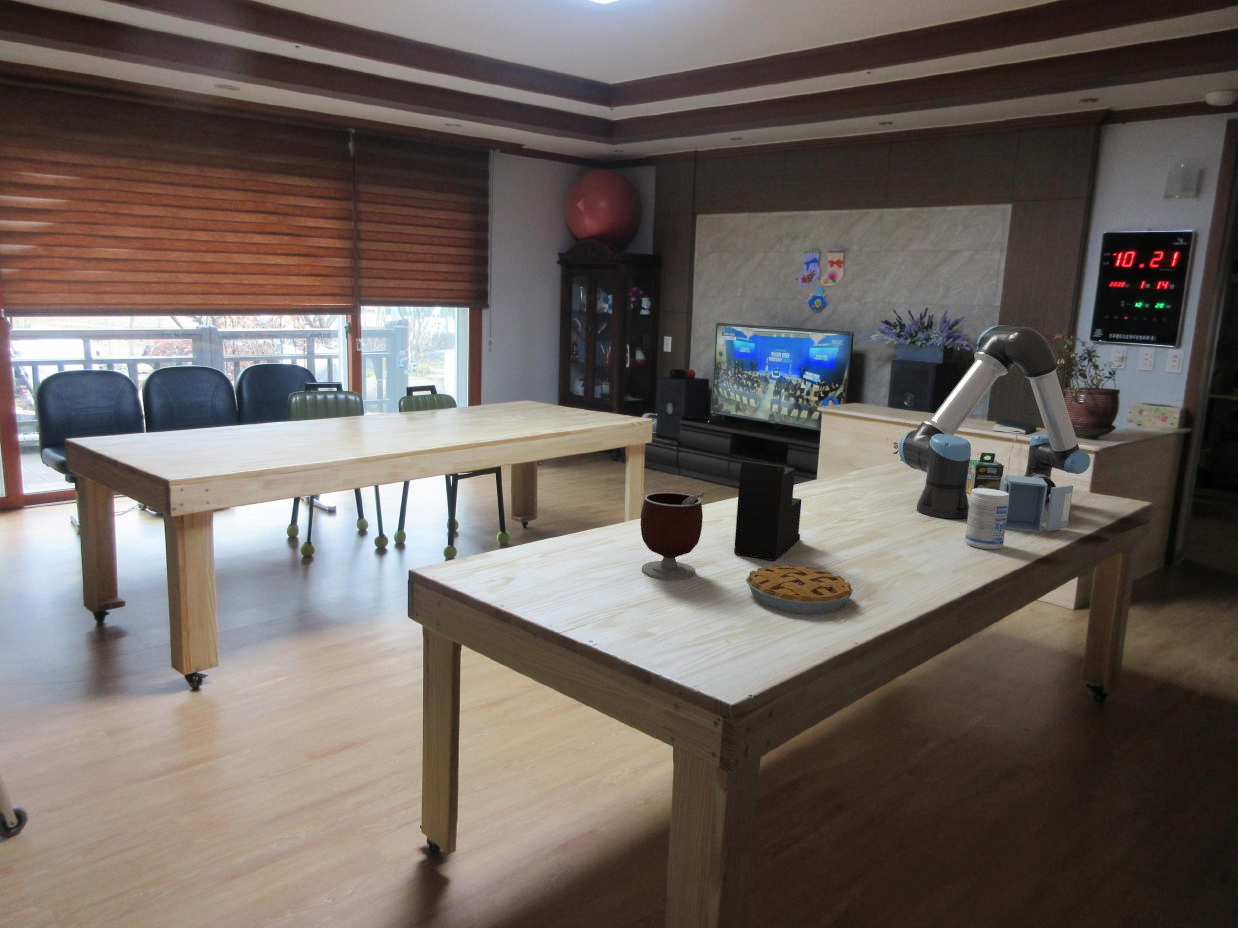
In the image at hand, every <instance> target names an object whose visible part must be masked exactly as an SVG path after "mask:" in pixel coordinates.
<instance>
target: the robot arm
mask: <svg viewBox="0 0 1238 928" xmlns="http://www.w3.org/2000/svg"><path fill="white" fill-rule="evenodd" d="M976 344H977V345H976V351H975V353H974V354H973V355H974V356H973V357H974V362H973V363H972V365H971V366H970V367H969V369H968V370H967V371H966V372H965V374H964V375H963V376H962V377H961V379H960V380H959V381H958V383H957V384H956V386H955V387H954V388H953V389H952V391H951V392H950V393H949V394H948V395H947V397H946V398H945V399H944V401H943V403H941V405H940V406H939V408H938V409H937V410H936V412H934V414H933V416H932V417H931V418H930V419H929V420H923V421H921V423H920V424H919V425H918V427H917V428H916V429H914V430H910V431H907V432H906V433H904V434H903V436H902V437H901V438H900V440H899V443H898V454H899V455H898V456H899V457H900V460H901V461H902V463H904V464H905V465H907V466H909V467H910V468H912V469H914V470H919V471H921V472H923V473H926V479H925V485H924V488H923V490H922V492H921V495H920V496H919V499H918V500H917V504H916V511H917V512H919V513H920V514H922V515H926V516H930V517H936V518H941V519H953V520H955V519H958V520H959V519H966V518H967V519H968V512H969V503H970V502H969V499H968V495H967V494H968V493H967V492H966V485H967V477H968V470H969V462H970V460H971V456H972V452H971V451H972V446H971V443H970V441H968V439H966V438H964V437H962V436H958V435H955V434H956V433H957V432H958V430H959V428H961V426H962V424H963V423H964V422H965V421H966V420H967V418H968V417H969V416H970V415H971V413H972V411H973V410H974V409H975V408H976V407H977V406H978V404H979V403H980V401H981V400H982V399H983V397H984V396H985V395H986V393H987V392H988V391H989V389H990V388H991V387H992V386H993V385H994V383H995V382H996V381H997V379H998V378H999V377H1002V376H1006V375H1007V374H1008V373H1009V371H1010V370H1012V368H1013V367H1014V366H1018V367H1019V368H1020V369H1021V371H1022V373H1023V376H1024V377H1025V378H1026V379H1028V380H1029V382H1030V383H1029V384H1030V386H1031V389H1032V391H1033V395H1034V399H1035V401H1036V405H1037V407H1038V410H1039V414H1040V417H1041V420H1042V423H1043V426H1044V429H1045V432H1046V434H1033V435H1032V436H1031V438H1030V442H1029V446H1028V447H1029V448H1028V456H1027V458H1028V459H1027V462H1026V463H1027V465H1026V469H1025V470H1026V471H1025V473H1024V475H1023V476H1024V477H1034V478H1043V480H1044V481H1045V482H1046V483H1047V485H1048V487H1047V494H1046V501H1045V506H1046V505H1048V506H1049V501H1050V494H1051V488H1053V487H1057V486H1056V483H1055V482H1054V481H1053V480H1052V479H1051V476H1052V469H1057V470H1060V471H1063V472H1066V473H1067V474H1073V475H1081V474H1083V473H1085V472H1086V471H1088V469H1089V467H1090V465H1091V456H1090V454H1088V453H1087V451H1085V450H1082V449H1080V446H1079V443H1078V440H1077V436H1076V433H1075V430H1074V426H1073V423H1072V419H1071V417H1070V414H1069V409H1068V406H1067V404H1066V400H1065V397H1064V394H1063V391H1062V388H1061V384H1060V382H1059V377H1058V374H1057V369H1058V367H1059V366H1058V362H1057V359H1056V356H1055V354H1054V351H1053V349H1052V347H1051V345H1050V344H1049V343H1048V341H1047V338H1045V337H1044V336H1043V334H1041V333H1040V332H1039V331H1038V330H1036V329H1034V328H1032V327H1028V326H1027V327H1026V326H1010V325H1005V324H1003V325H1002V324H1001V325H994V326H990V327H988V328H986V329H985V330H984V331H983V332H982V333H981V334H980V335H979V337H978V338H977V341H976Z"/></svg>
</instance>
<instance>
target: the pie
mask: <svg viewBox="0 0 1238 928" xmlns="http://www.w3.org/2000/svg"><path fill="white" fill-rule="evenodd" d="M745 582H746V583H747V585H748V587H749V589H750V592H751V595H752V596H753V598H754V599H755V600H757V601H758V602H761V603H762V604H764V605H765V606H767V607H771V608H774V609H777V610H780V611H783V612H789V613H794V614H802V615H804V614H805V615H807V614H809V615H810V614H811V615H814V614H824V613H829V612H830V613H831V612H833V611H836V610H838V609H841V608H843V605H844V604H845V602H846V601H847V599H849V598H850V597H851V595H852V593H853V591H854V589H853V588H852V585H851V584H850V582H849V581H848V582H847V581H845V578H843V577H842V576H841V575H833V573H832V571H827V570H823V571H822V570H817V569H815V567H808V566H807V567H801V566H799V565H797V564H789V565H788V566H787V565H786V566H782V565H780V564H773V565H772V566H771V567H763V566H762V567H758V568H757V569H756V570H751V571H750V572H749V576H747V578H746V579H745Z"/></svg>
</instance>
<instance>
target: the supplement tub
mask: <svg viewBox="0 0 1238 928" xmlns="http://www.w3.org/2000/svg"><path fill="white" fill-rule="evenodd" d="M969 497H970V498H969V502H968V503H969V512H968V517H967V522H966V528H965V529H966V530H965V538H964V541H965V543H966V544H967V545H969V546H970V547H972V548H973V547H974V548H978V549H983V550H999V549H1001V548H1003V546H1004V540H1005V533H1006V529H1005V527H1006V519H1007V512H1008V504H1009V494H1008V493H1007V492H1004V491H1000V490H995V489H986V488H975V489H972V492H971V495H970V496H969Z"/></svg>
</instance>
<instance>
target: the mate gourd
mask: <svg viewBox="0 0 1238 928" xmlns="http://www.w3.org/2000/svg"><path fill="white" fill-rule="evenodd" d="M704 495H705V494H704V493H700V492H699V493H697V494H694V495H693V494H690V493H689V494H688V493H684V492H683V493H682V492H681V493H680V492H670V491H668V492H667V491H661V492H651V493H648V494H646V495H644V500H643V503H642V507H641V512H640V532H641V537H642V541H643V542H644V544H645V545H646V547H647V549H648V550H649V551H651V552H653V553H655V554H657V555H660V556H662V557H663V558H662V560H656V561H649V562H646V563H644V564H643V565H642V566H641V573H642V574H643V575H644V576H647V577H649V578H653V579H657V580H660V581H661V580H663V581H685V580H689V579H692V578H694V577H695V576H696V568H695V567H694V566H692V565H691V564H688V563H684V562H679V561H677V559H676V558H677V557H680V556H683V555H687V554H689V553H691V552H692V551H693V549H695V547H696V546H697V545H698V544H699V541H700V538H701V535H702V529H703V517H704V516H703V506H702V499H701V498H702V497H704Z"/></svg>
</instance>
